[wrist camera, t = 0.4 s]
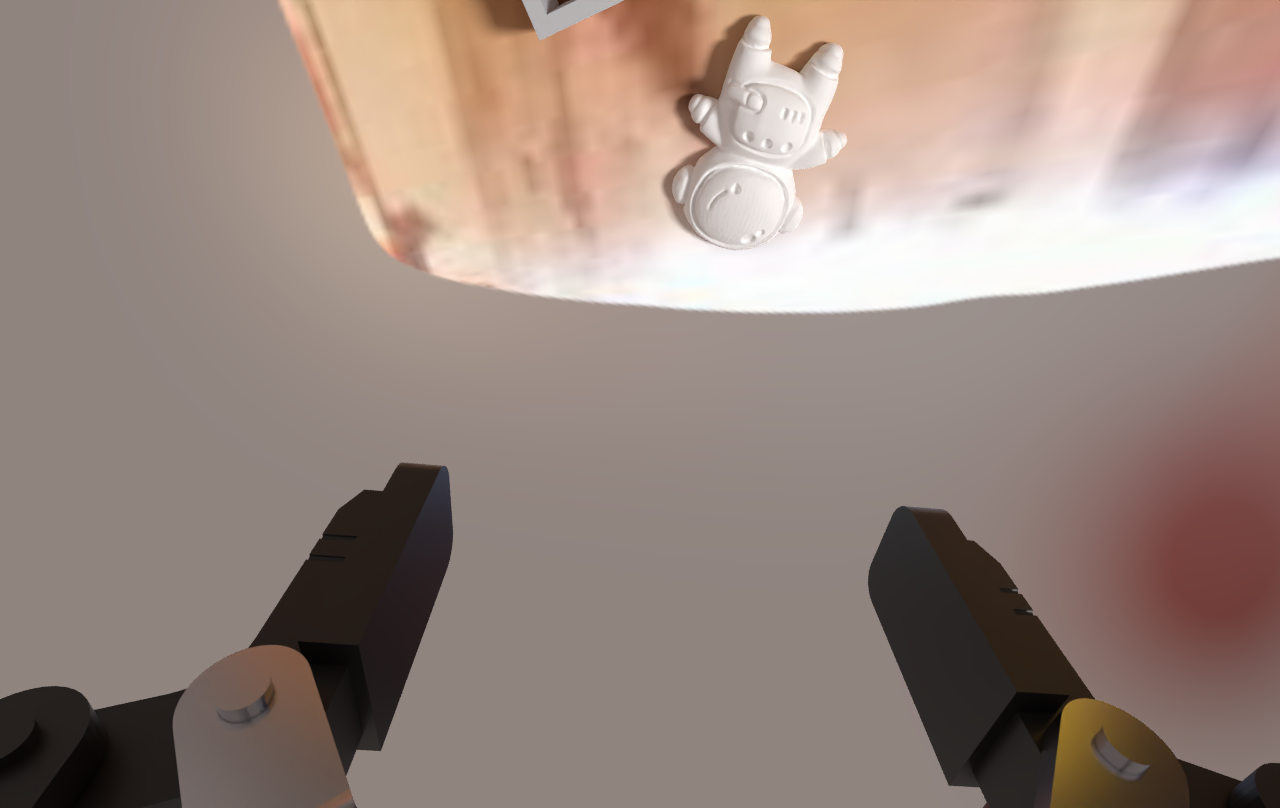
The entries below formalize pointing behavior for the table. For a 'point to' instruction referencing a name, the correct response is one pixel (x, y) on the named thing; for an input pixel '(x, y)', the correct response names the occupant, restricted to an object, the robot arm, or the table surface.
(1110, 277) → the table surface
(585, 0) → the push button drawer box
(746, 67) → the astronaut figurine
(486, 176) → the table surface
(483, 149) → the table surface
